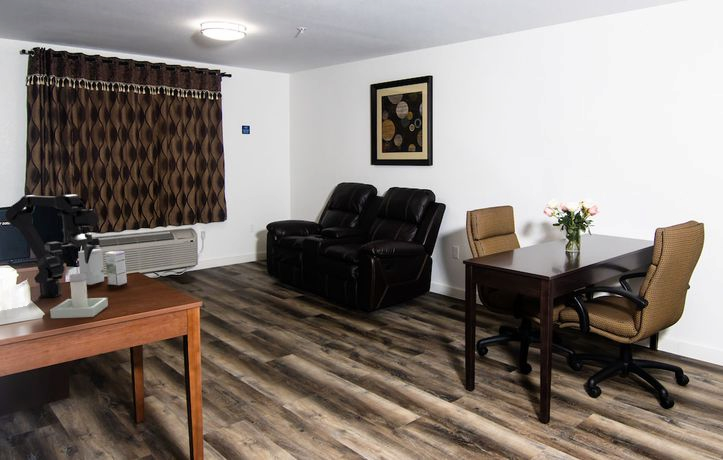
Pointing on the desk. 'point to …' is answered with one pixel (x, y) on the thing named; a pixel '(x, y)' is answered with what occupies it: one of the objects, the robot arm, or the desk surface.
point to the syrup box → (116, 267)
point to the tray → (68, 312)
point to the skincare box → (92, 266)
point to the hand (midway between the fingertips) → (74, 265)
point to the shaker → (78, 290)
